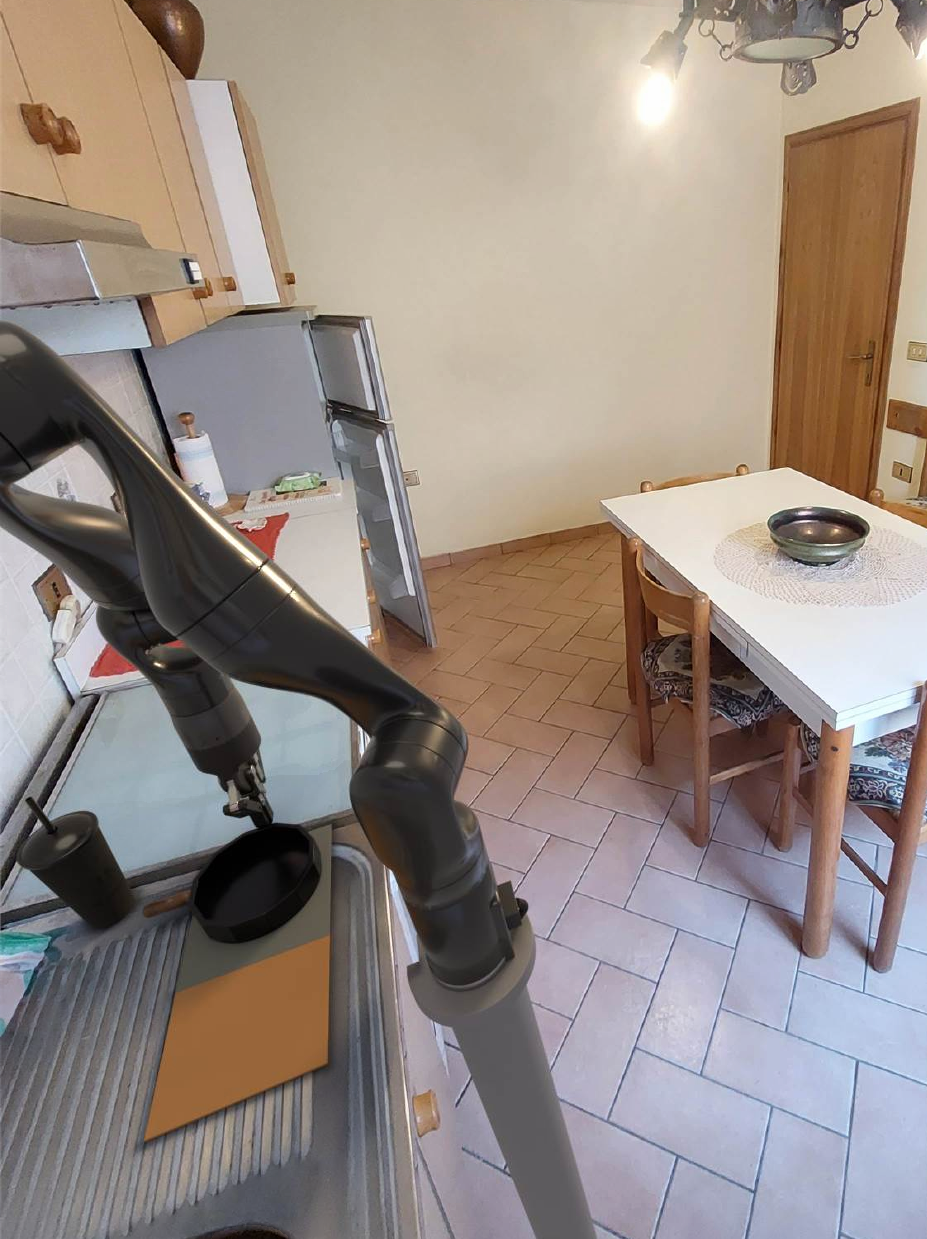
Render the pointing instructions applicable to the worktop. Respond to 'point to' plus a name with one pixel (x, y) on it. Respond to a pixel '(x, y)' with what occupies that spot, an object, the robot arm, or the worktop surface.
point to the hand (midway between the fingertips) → (265, 821)
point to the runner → (247, 1013)
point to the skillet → (251, 884)
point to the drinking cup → (77, 866)
